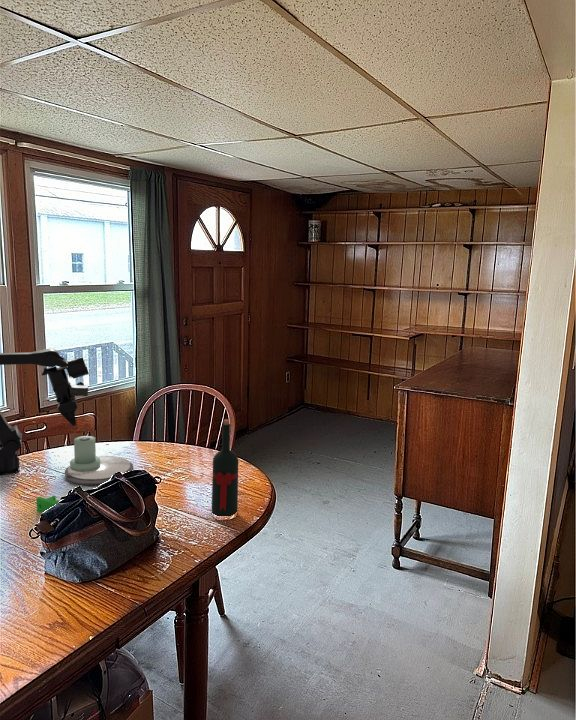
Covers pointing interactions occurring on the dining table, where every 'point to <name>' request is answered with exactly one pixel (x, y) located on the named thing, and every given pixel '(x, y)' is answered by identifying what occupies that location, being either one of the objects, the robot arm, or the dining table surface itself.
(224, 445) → the wine bottle
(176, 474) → the dining table surface
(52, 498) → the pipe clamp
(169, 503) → the dining table surface
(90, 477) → the turntable
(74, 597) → the dining table surface
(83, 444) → the sage green cylinder
